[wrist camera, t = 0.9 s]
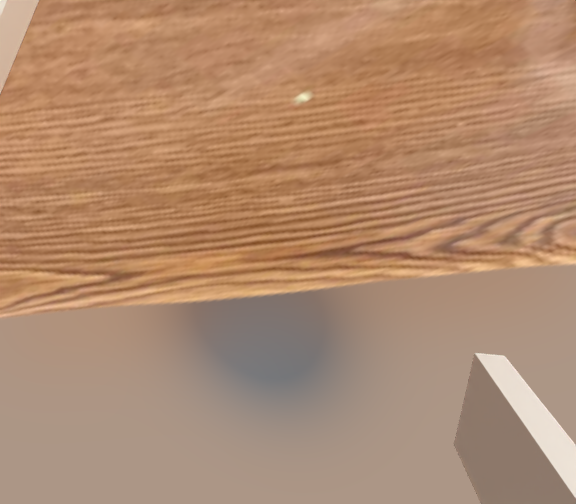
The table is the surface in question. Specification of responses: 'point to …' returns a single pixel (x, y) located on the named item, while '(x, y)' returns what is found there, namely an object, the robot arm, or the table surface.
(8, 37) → the power strip dock
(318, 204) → the table surface
